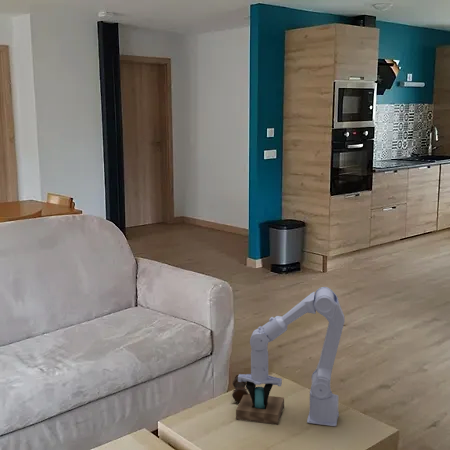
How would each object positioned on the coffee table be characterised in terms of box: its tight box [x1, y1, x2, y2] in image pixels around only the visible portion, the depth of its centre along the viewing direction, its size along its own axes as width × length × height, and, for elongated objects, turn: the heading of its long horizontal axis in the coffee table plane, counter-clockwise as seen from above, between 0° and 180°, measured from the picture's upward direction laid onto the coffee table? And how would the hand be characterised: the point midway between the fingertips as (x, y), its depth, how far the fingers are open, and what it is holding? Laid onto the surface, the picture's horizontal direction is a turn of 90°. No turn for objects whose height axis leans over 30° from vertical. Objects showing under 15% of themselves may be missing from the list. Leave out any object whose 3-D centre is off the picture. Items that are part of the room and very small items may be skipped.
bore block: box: [235, 393, 285, 425], centre depth 200 cm, size 14×12×4 cm
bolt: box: [231, 374, 249, 404], centre depth 214 cm, size 6×5×15 cm
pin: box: [254, 386, 265, 409], centre depth 198 cm, size 3×3×8 cm
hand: (259, 403), depth 199 cm, fingers closed on pin, 3 cm apart
